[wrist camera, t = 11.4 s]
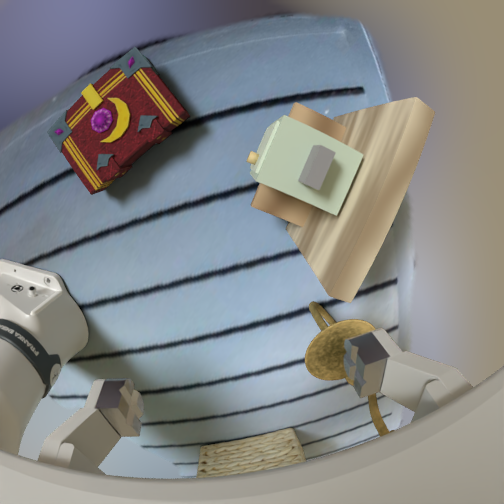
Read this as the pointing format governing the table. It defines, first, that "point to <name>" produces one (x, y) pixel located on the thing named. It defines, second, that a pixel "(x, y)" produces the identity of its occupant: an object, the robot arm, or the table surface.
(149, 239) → the table surface
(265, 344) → the table surface
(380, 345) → the robot arm
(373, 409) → the wall sconce
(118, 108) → the decorative book
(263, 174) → the sage cabinet
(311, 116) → the wall board
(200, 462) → the storage basket
